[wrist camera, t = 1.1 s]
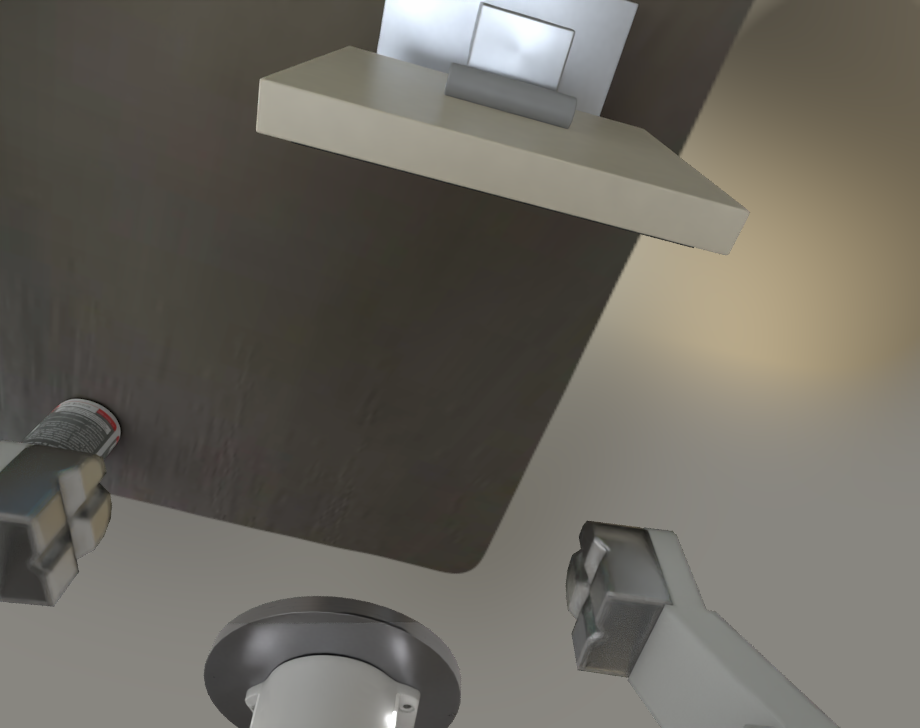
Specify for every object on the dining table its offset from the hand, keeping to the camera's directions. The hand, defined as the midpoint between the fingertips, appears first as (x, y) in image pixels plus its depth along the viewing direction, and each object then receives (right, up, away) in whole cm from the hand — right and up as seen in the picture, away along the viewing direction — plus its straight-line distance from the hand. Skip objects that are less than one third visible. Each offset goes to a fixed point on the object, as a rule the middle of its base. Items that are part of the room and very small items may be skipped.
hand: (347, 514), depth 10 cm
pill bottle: (-25, -2, +34) cm, 43 cm away
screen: (+3, +13, +13) cm, 19 cm away
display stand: (+4, +19, +21) cm, 29 cm away
